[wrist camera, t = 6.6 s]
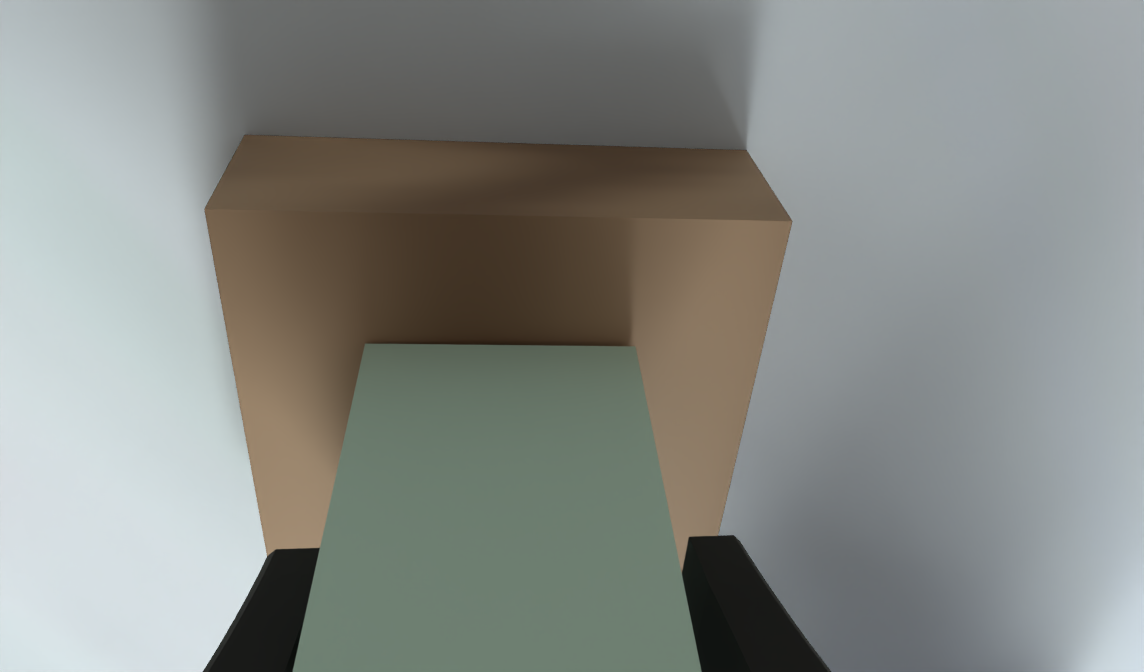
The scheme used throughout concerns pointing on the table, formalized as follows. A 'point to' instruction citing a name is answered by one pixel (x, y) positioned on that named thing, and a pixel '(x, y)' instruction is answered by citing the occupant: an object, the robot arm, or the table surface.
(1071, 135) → the table surface
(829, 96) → the table surface
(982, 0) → the table surface
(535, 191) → the walnut plinth
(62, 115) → the table surface
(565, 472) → the green block
